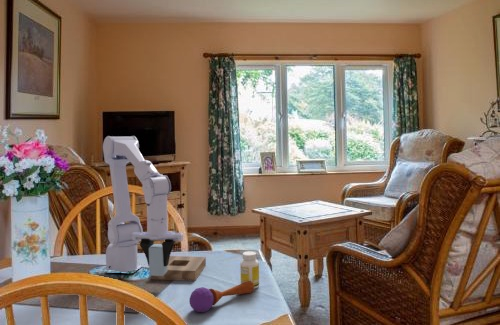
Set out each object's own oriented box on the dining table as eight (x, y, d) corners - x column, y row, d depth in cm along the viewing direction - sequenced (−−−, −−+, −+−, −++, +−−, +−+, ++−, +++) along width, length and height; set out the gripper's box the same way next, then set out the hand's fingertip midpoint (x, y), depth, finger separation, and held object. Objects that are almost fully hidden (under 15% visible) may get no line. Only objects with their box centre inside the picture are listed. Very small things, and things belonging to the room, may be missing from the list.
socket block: (151, 279, 122) (150, 269, 121) (165, 264, 135) (165, 255, 135) (195, 280, 120) (195, 270, 120) (205, 265, 134) (205, 256, 134)
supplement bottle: (258, 282, 118) (258, 250, 117) (259, 289, 112) (259, 255, 112) (240, 283, 118) (240, 250, 117) (240, 290, 112) (240, 256, 112)
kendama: (259, 281, 109) (201, 296, 95) (255, 301, 109) (197, 319, 95) (244, 272, 113) (186, 285, 99) (241, 291, 114) (183, 307, 100)
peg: (149, 275, 112) (148, 247, 112) (154, 270, 116) (153, 243, 115) (163, 275, 112) (162, 248, 111) (167, 271, 116) (166, 244, 115)
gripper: (127, 220, 110) (128, 268, 110) (177, 221, 108) (178, 270, 109) (137, 215, 117) (138, 260, 117) (185, 216, 115) (185, 262, 116)
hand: (158, 264), depth 114 cm, fingers closed on peg, 4 cm apart
